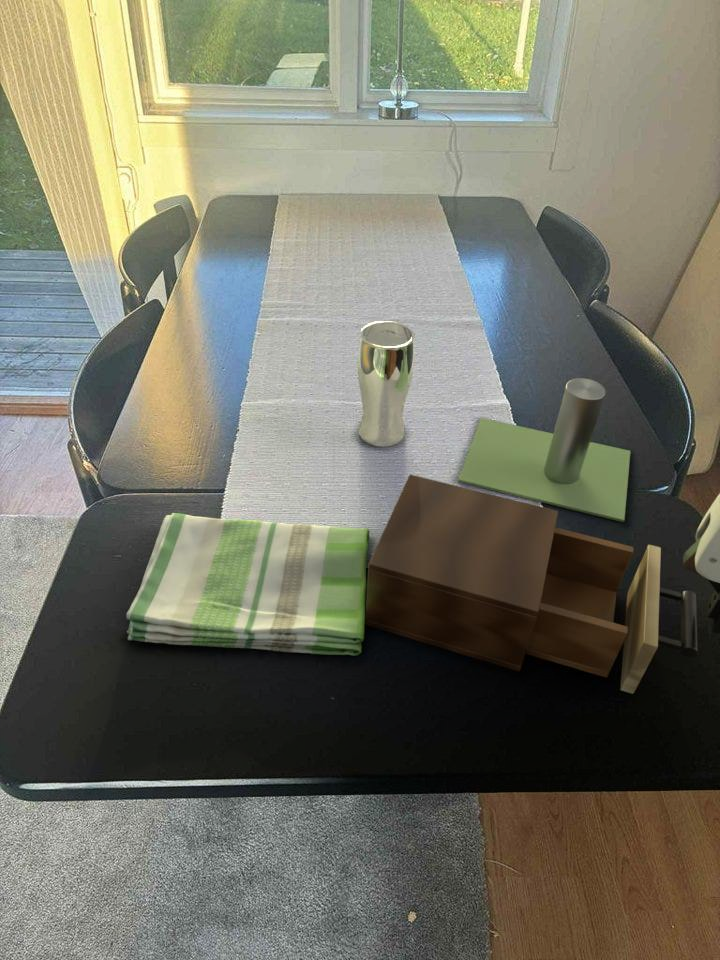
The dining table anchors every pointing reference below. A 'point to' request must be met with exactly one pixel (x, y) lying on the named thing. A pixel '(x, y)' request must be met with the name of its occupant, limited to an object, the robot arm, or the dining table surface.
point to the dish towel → (253, 586)
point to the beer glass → (384, 380)
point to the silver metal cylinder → (573, 430)
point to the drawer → (605, 609)
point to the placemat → (520, 470)
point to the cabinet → (461, 571)
